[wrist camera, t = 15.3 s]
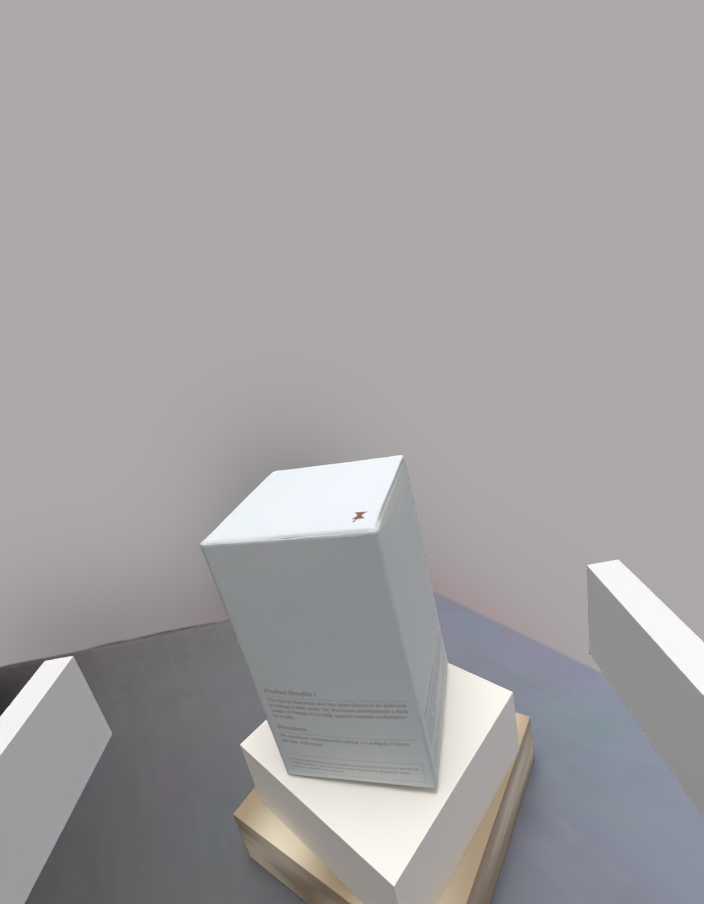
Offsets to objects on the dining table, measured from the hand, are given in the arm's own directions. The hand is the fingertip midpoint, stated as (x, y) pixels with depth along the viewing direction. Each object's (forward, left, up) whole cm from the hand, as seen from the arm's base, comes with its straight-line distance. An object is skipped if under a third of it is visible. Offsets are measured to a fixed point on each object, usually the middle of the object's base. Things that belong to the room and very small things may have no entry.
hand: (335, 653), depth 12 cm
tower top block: (-5, +6, -16) cm, 18 cm away
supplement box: (-5, +7, -12) cm, 15 cm away
